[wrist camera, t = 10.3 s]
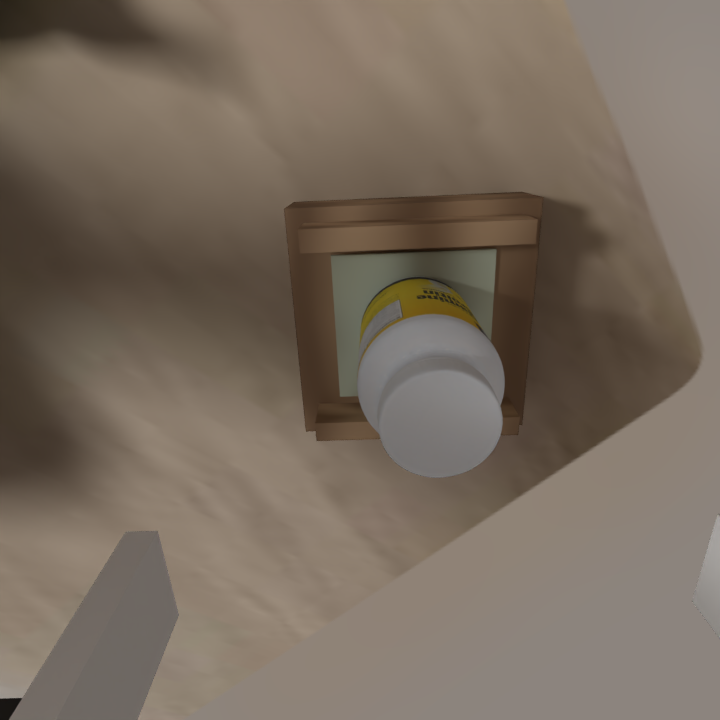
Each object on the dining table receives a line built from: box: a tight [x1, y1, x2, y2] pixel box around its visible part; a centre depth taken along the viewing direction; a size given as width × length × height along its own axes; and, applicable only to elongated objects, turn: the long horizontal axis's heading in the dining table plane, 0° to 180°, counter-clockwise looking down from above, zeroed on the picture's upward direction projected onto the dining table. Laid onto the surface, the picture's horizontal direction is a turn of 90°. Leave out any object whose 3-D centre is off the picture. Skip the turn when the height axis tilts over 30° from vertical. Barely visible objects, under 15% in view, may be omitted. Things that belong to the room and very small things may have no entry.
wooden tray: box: [284, 192, 543, 441], centre depth 30 cm, size 14×14×6 cm
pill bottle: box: [357, 277, 505, 478], centre depth 24 cm, size 6×6×12 cm
